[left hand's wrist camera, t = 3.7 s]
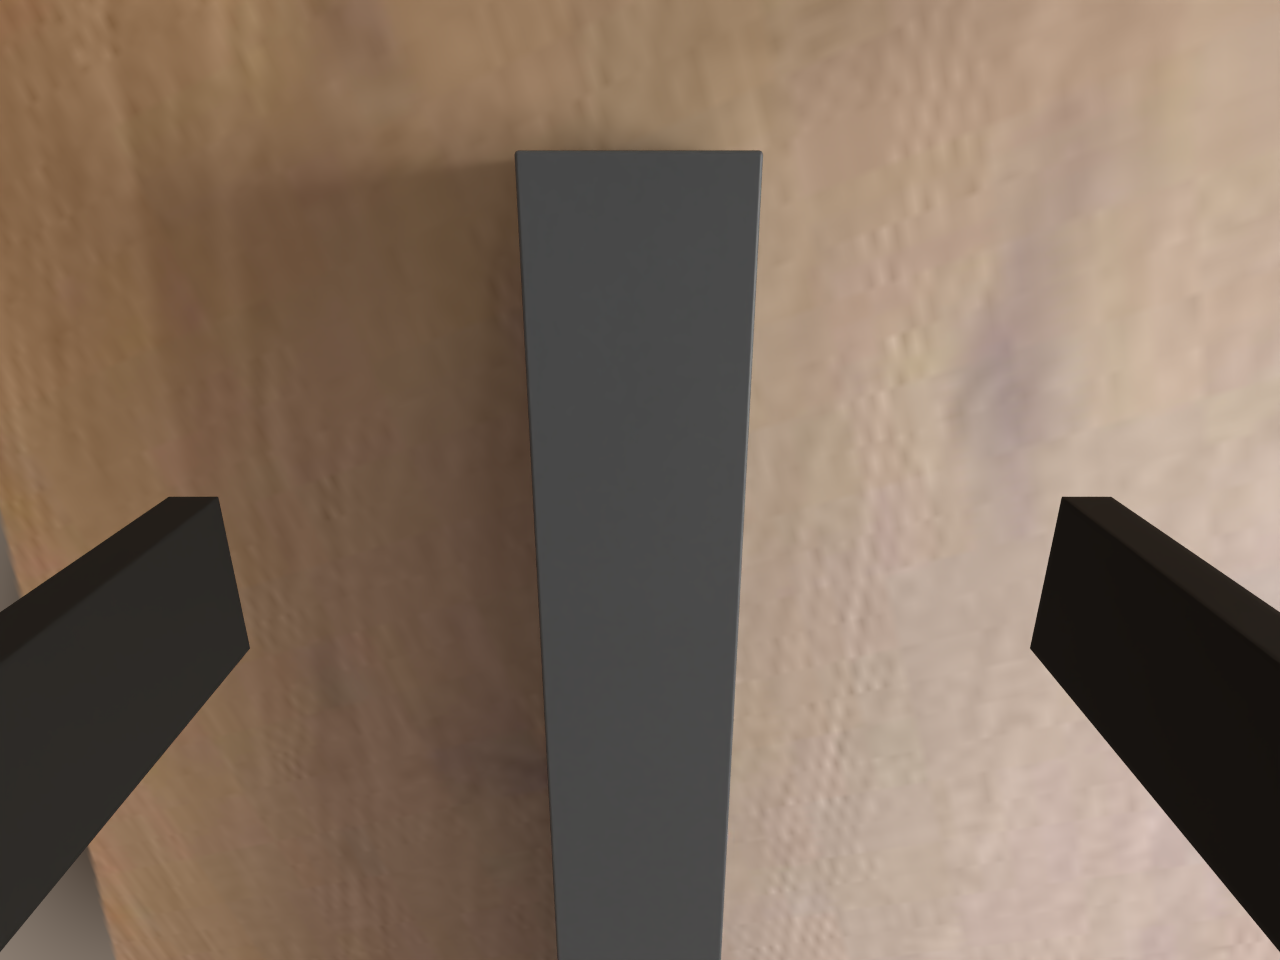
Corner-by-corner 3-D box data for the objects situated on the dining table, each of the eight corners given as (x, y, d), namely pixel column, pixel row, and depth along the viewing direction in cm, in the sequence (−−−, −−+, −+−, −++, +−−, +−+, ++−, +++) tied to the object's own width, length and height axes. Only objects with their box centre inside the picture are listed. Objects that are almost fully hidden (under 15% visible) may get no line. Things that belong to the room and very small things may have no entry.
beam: (549, 157, 24) (513, 150, 18) (729, 157, 24) (763, 150, 18) (591, 1254, 46) (583, 1442, 39) (687, 1254, 46) (695, 1442, 39)
